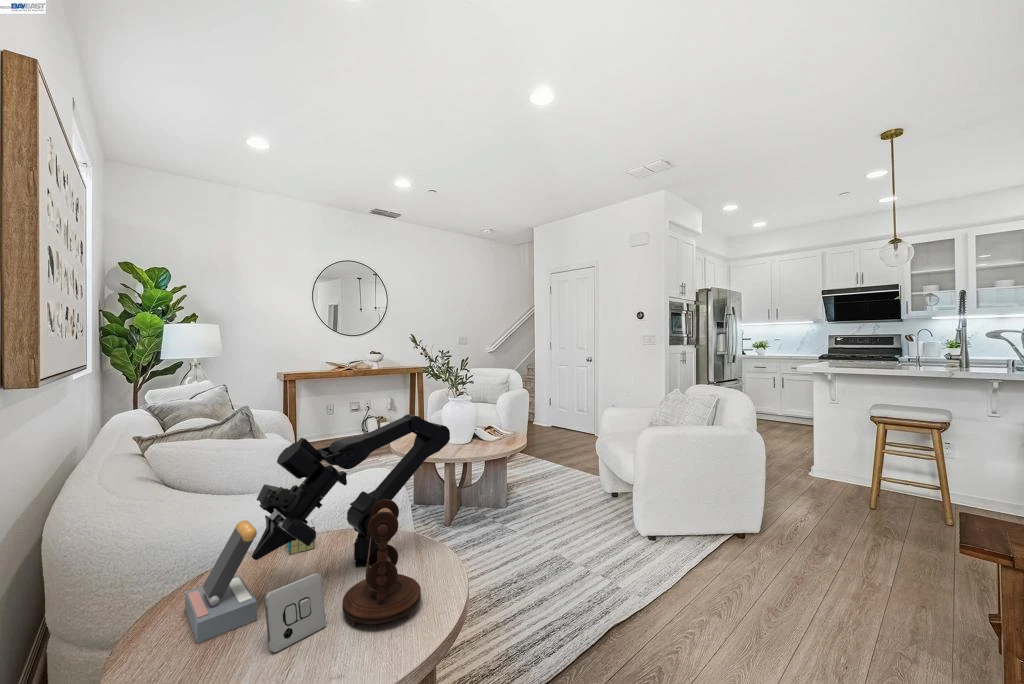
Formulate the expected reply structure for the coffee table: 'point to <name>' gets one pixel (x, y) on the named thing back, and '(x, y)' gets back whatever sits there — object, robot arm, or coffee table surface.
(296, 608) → the electrical switch
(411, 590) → the brown wooden tower
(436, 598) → the coffee table surface
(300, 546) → the puzzle toy
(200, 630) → the block
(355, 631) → the coffee table surface
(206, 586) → the lever
